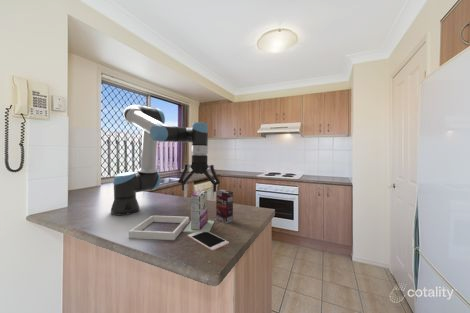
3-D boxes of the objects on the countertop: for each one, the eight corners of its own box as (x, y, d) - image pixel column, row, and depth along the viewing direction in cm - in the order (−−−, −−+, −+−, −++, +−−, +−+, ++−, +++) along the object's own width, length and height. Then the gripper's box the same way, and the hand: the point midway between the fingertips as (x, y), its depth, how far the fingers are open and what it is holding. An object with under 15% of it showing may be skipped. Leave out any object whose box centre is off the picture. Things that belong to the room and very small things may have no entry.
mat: (182, 232, 91) (182, 230, 91) (191, 221, 105) (191, 220, 105) (208, 233, 90) (208, 232, 90) (214, 221, 104) (214, 220, 104)
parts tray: (128, 238, 85) (128, 231, 85) (151, 221, 105) (151, 215, 104) (174, 240, 83) (174, 233, 83) (188, 222, 103) (188, 216, 103)
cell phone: (203, 231, 93) (203, 229, 93) (229, 244, 81) (229, 242, 81) (187, 236, 87) (187, 234, 87) (212, 252, 74) (212, 249, 74)
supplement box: (215, 219, 108) (215, 190, 107) (222, 217, 111) (222, 189, 111) (226, 223, 102) (227, 193, 101) (233, 221, 105) (233, 191, 105)
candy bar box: (198, 221, 103) (198, 190, 103) (207, 221, 102) (207, 190, 102) (190, 229, 92) (190, 194, 92) (200, 230, 91) (200, 195, 91)
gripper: (171, 154, 93) (171, 198, 94) (224, 155, 91) (223, 201, 92) (177, 153, 101) (177, 194, 102) (226, 155, 99) (225, 196, 100)
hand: (199, 197), depth 97 cm, fingers open, 13 cm apart
